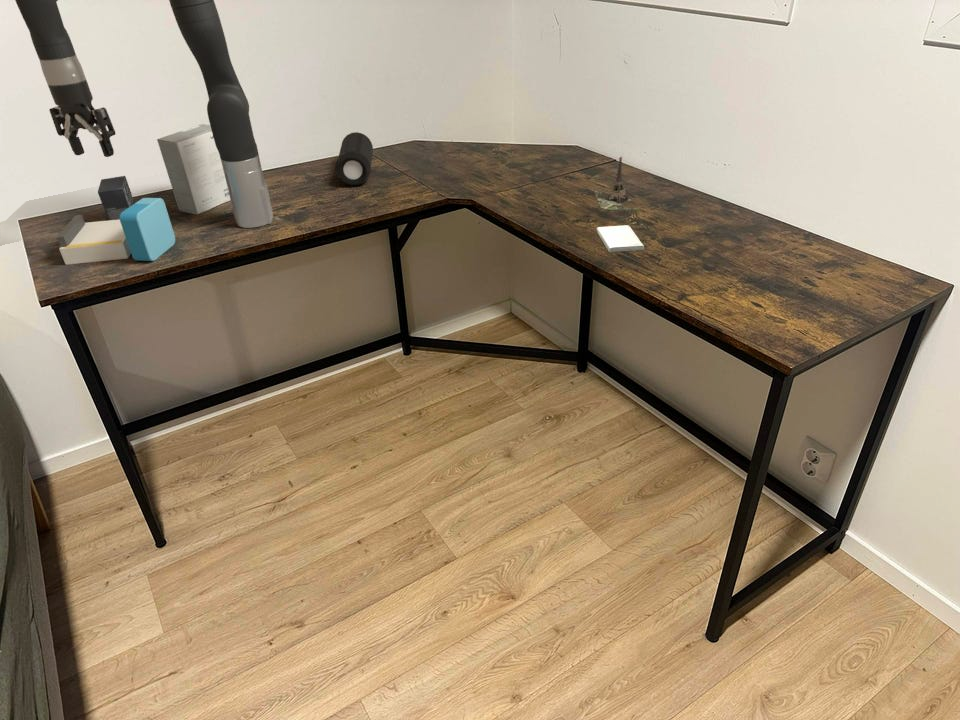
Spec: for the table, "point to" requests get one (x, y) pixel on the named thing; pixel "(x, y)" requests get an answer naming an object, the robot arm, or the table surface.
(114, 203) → the small box
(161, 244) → the data package
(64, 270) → the table surface
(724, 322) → the table surface
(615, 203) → the eiffel tower figurine
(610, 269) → the table surface
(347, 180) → the portable speaker
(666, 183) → the table surface
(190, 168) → the hard drive box
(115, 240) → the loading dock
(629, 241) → the hard drive
